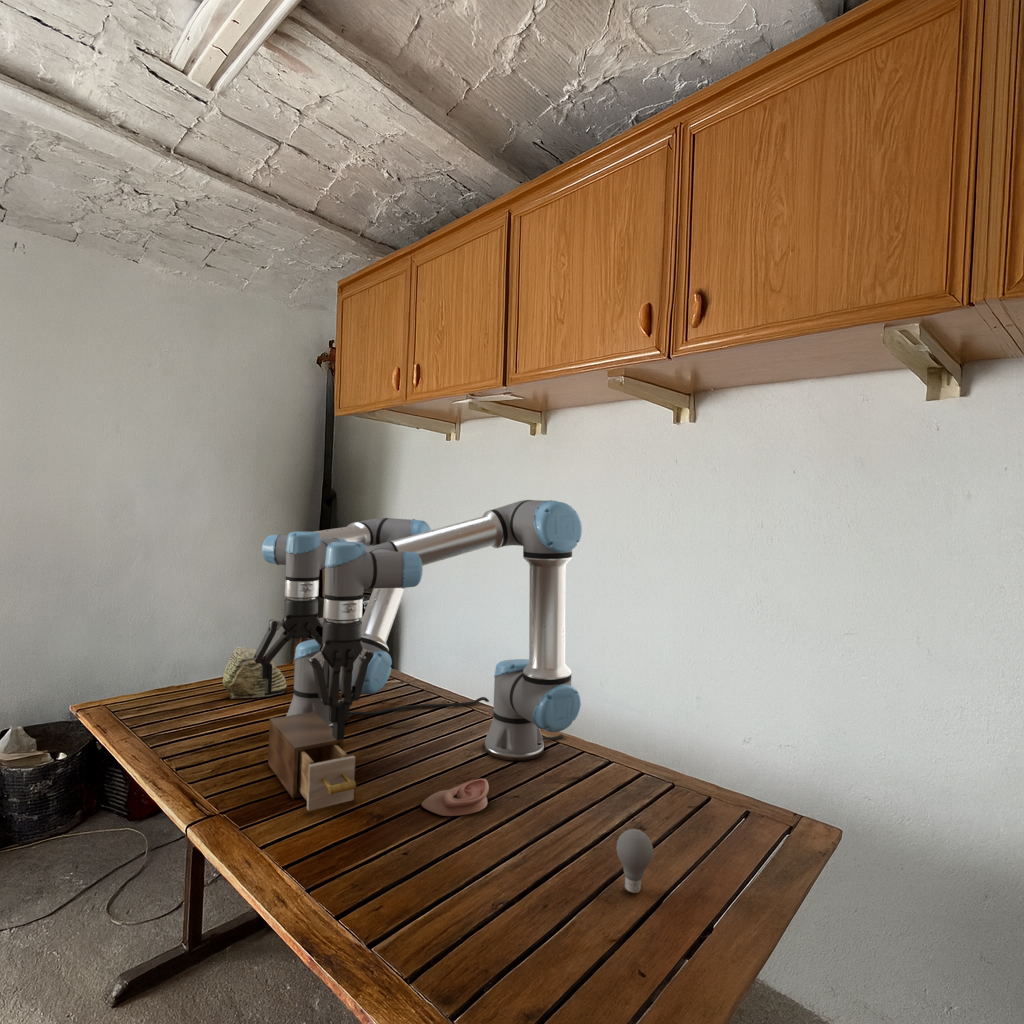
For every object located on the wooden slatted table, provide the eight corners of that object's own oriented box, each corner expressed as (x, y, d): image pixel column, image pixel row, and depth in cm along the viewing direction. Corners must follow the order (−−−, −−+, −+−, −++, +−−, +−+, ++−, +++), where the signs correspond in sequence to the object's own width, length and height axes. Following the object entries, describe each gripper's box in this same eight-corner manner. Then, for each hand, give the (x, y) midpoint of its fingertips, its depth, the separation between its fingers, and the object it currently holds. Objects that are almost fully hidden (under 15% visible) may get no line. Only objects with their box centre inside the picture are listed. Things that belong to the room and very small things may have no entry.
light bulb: (610, 879, 108) (613, 822, 108) (644, 879, 109) (647, 822, 109) (619, 902, 102) (622, 840, 102) (655, 901, 103) (658, 840, 103)
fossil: (218, 695, 195) (220, 647, 195) (278, 685, 208) (279, 640, 207) (228, 703, 189) (230, 653, 188) (289, 692, 201) (290, 645, 201)
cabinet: (341, 787, 138) (343, 738, 138) (292, 798, 132) (294, 747, 132) (312, 755, 155) (314, 711, 154) (267, 764, 149) (269, 718, 148)
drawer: (365, 812, 126) (366, 768, 126) (318, 825, 121) (320, 778, 121) (323, 766, 146) (325, 728, 146) (282, 775, 141) (283, 735, 141)
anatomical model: (416, 792, 129) (434, 769, 140) (415, 812, 129) (434, 787, 140) (479, 801, 126) (493, 777, 137) (479, 821, 126) (492, 795, 137)
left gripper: (249, 603, 138) (245, 700, 138) (358, 597, 152) (355, 685, 152) (241, 598, 144) (237, 691, 144) (347, 592, 158) (344, 677, 158)
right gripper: (316, 625, 119) (311, 750, 119) (381, 620, 126) (376, 737, 127) (303, 618, 125) (299, 736, 126) (366, 614, 133) (362, 725, 133)
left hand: (298, 688), depth 148 cm, fingers open, 13 cm apart
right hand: (338, 737), depth 126 cm, fingers closed
